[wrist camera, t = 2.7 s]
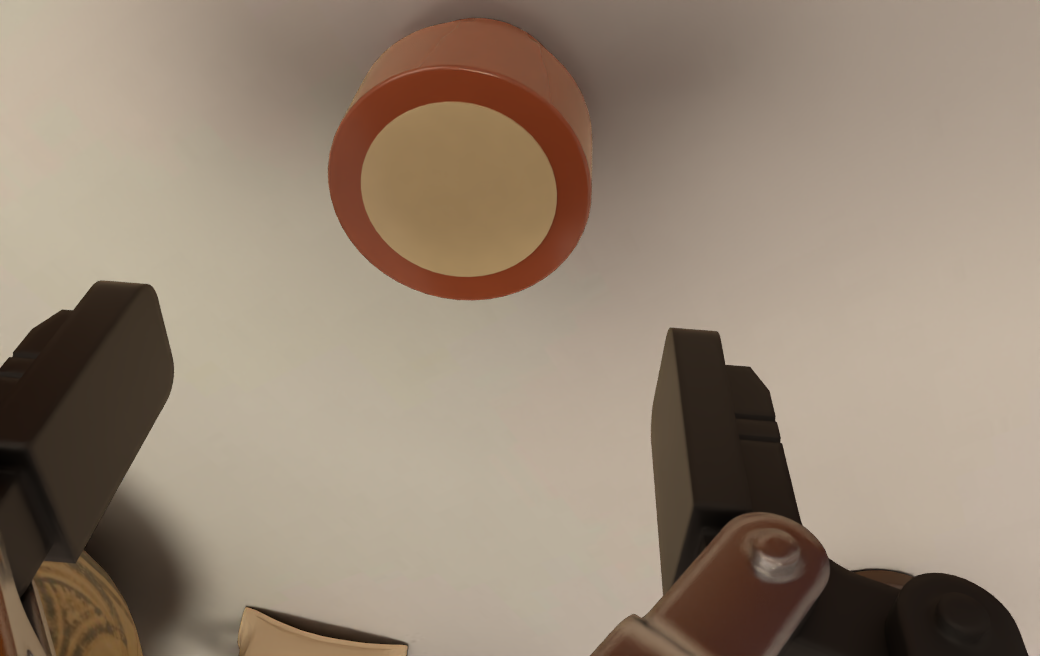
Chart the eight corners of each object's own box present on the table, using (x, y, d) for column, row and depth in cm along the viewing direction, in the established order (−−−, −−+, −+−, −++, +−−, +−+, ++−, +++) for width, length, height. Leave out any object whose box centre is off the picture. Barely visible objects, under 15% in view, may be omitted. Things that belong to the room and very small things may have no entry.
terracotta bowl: (604, -1, 20) (605, 78, 16) (581, 208, 23) (578, 312, 19) (365, -19, 20) (314, 55, 16) (377, 192, 23) (336, 292, 20)
